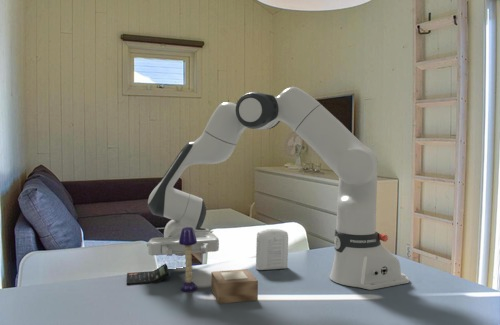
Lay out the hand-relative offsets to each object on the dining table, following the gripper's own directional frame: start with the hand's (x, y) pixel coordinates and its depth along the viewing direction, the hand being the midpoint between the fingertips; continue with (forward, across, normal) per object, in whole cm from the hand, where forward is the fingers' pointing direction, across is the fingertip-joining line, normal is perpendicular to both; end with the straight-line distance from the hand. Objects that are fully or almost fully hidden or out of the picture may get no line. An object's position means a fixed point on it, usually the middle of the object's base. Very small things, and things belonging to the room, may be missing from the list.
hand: (186, 251), depth 124 cm
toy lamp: (+4, 0, +10) cm, 10 cm away
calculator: (-8, -10, +10) cm, 17 cm away
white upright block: (-10, +28, +10) cm, 31 cm away
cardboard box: (+10, +11, +9) cm, 18 cm away
